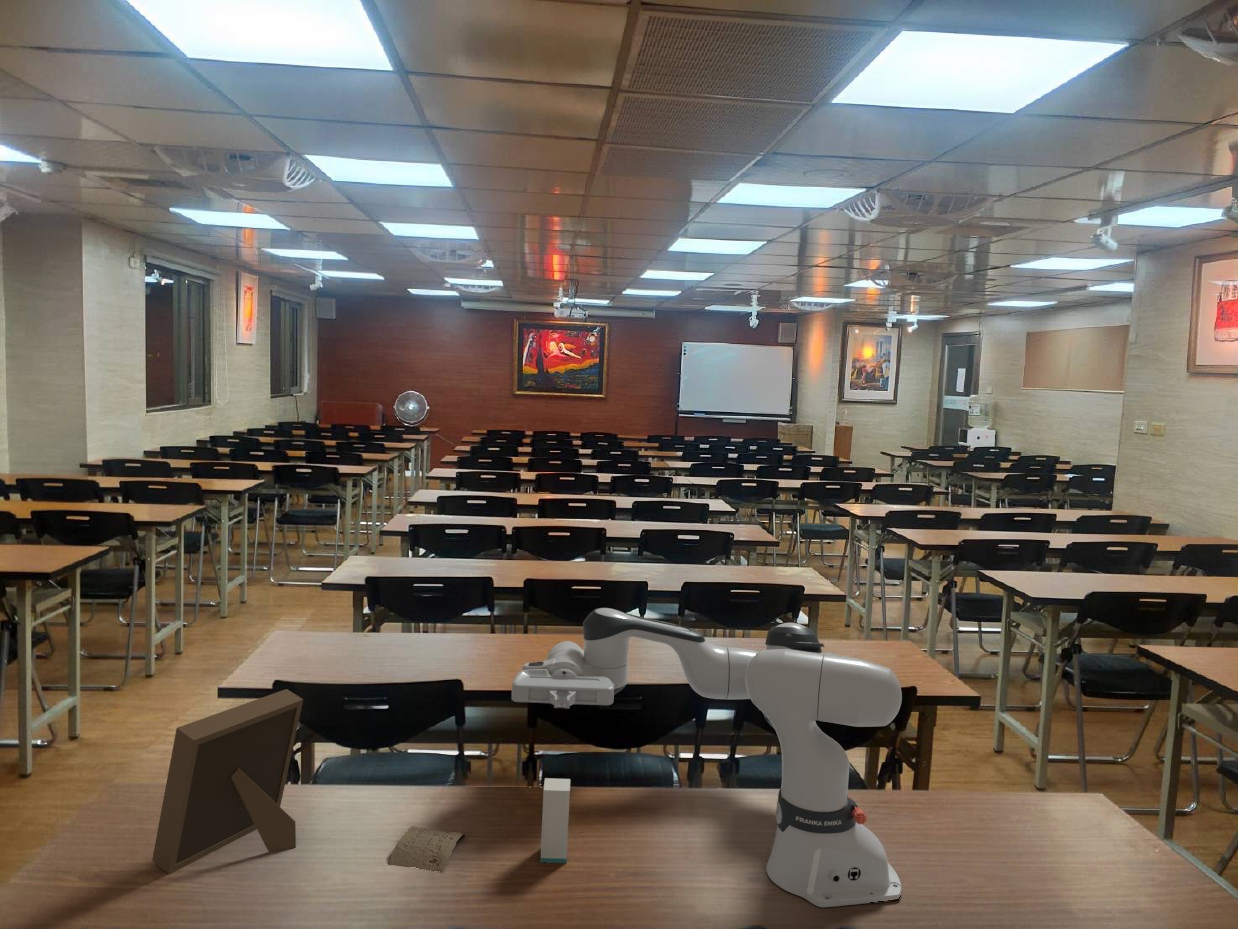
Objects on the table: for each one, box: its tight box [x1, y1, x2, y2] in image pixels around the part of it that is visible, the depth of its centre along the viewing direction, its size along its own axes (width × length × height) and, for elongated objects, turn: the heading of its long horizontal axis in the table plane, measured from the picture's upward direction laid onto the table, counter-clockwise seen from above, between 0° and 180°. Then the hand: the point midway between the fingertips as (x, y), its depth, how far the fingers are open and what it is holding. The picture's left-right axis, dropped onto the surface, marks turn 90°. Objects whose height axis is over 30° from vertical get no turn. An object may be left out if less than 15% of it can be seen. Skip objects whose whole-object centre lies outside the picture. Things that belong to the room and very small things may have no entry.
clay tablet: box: [388, 825, 464, 874], centre depth 151 cm, size 15×10×3 cm
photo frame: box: [151, 688, 304, 875], centre depth 147 cm, size 15×22×25 cm
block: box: [539, 777, 571, 864], centre depth 151 cm, size 4×4×13 cm
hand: (561, 704), depth 164 cm, fingers closed
